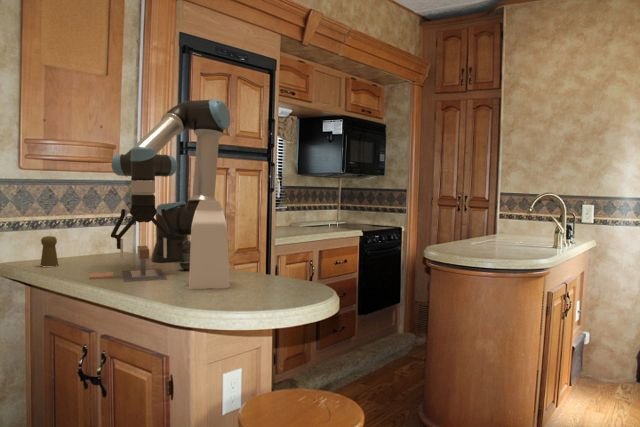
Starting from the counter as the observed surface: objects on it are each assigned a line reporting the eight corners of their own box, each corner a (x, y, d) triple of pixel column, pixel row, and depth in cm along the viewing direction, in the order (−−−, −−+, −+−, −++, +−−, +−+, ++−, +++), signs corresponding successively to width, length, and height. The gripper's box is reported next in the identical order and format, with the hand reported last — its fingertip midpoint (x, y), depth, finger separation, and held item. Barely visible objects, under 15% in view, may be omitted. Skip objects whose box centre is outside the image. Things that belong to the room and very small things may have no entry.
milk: (188, 289, 162) (188, 201, 160) (190, 282, 173) (190, 200, 172) (229, 288, 164) (229, 201, 163) (228, 281, 175) (228, 200, 174)
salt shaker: (198, 270, 195) (197, 237, 195) (192, 273, 189) (192, 238, 189) (182, 270, 196) (181, 236, 195) (176, 272, 190) (175, 238, 189)
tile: (112, 272, 183) (113, 276, 175) (112, 277, 183) (113, 281, 175) (90, 273, 180) (89, 277, 173) (90, 278, 180) (89, 282, 173)
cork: (53, 267, 199) (52, 237, 198) (36, 267, 199) (36, 237, 198) (61, 264, 205) (61, 235, 204) (45, 264, 205) (45, 235, 204)
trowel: (130, 271, 187) (129, 246, 187) (154, 270, 190) (154, 245, 190) (132, 279, 173) (131, 251, 173) (158, 277, 176) (158, 250, 176)
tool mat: (160, 270, 194) (160, 268, 194) (167, 281, 174) (167, 279, 174) (121, 272, 189) (121, 270, 189) (124, 283, 169) (124, 281, 169)
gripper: (180, 193, 188) (180, 255, 189) (102, 193, 178) (103, 258, 180) (183, 194, 181) (183, 258, 182) (102, 194, 171) (103, 261, 173)
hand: (143, 258), depth 181 cm, fingers open, 13 cm apart
